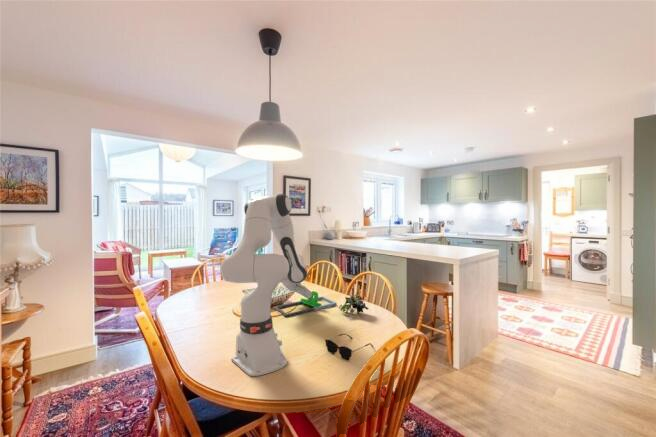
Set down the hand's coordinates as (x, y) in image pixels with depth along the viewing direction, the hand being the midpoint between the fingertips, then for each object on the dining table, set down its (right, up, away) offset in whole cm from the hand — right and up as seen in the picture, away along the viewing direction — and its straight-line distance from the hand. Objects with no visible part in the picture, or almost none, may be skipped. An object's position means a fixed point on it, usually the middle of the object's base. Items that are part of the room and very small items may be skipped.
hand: (308, 297), depth 161 cm
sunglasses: (+21, -7, -50) cm, 54 cm away
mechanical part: (+1, -5, +1) cm, 5 cm away
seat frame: (-8, -6, -5) cm, 11 cm away
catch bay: (+6, -5, +4) cm, 9 cm away
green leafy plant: (+25, -6, -13) cm, 29 cm away
